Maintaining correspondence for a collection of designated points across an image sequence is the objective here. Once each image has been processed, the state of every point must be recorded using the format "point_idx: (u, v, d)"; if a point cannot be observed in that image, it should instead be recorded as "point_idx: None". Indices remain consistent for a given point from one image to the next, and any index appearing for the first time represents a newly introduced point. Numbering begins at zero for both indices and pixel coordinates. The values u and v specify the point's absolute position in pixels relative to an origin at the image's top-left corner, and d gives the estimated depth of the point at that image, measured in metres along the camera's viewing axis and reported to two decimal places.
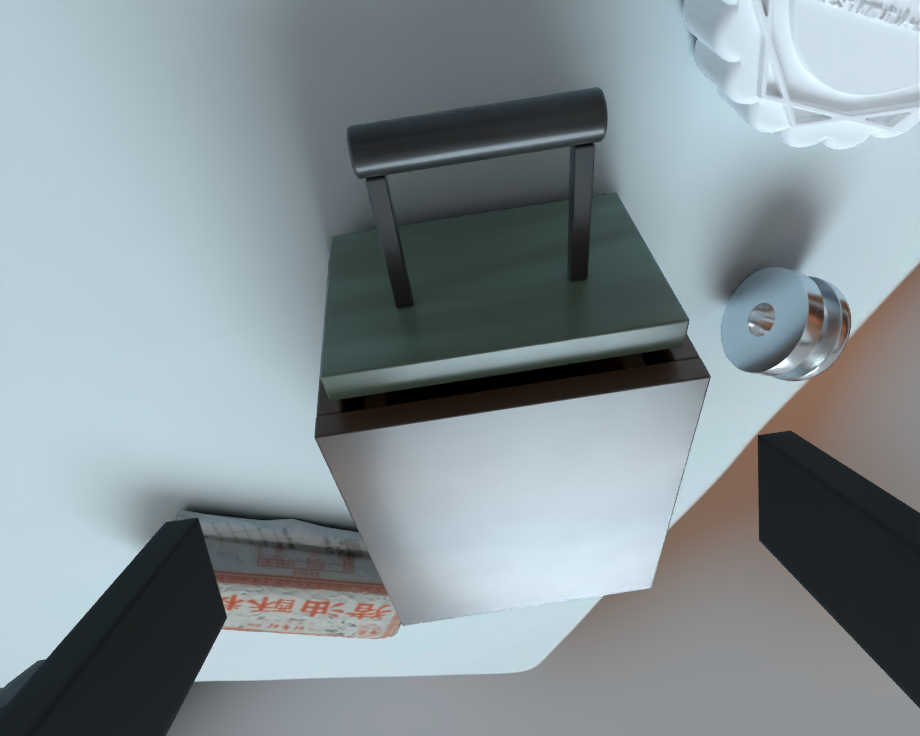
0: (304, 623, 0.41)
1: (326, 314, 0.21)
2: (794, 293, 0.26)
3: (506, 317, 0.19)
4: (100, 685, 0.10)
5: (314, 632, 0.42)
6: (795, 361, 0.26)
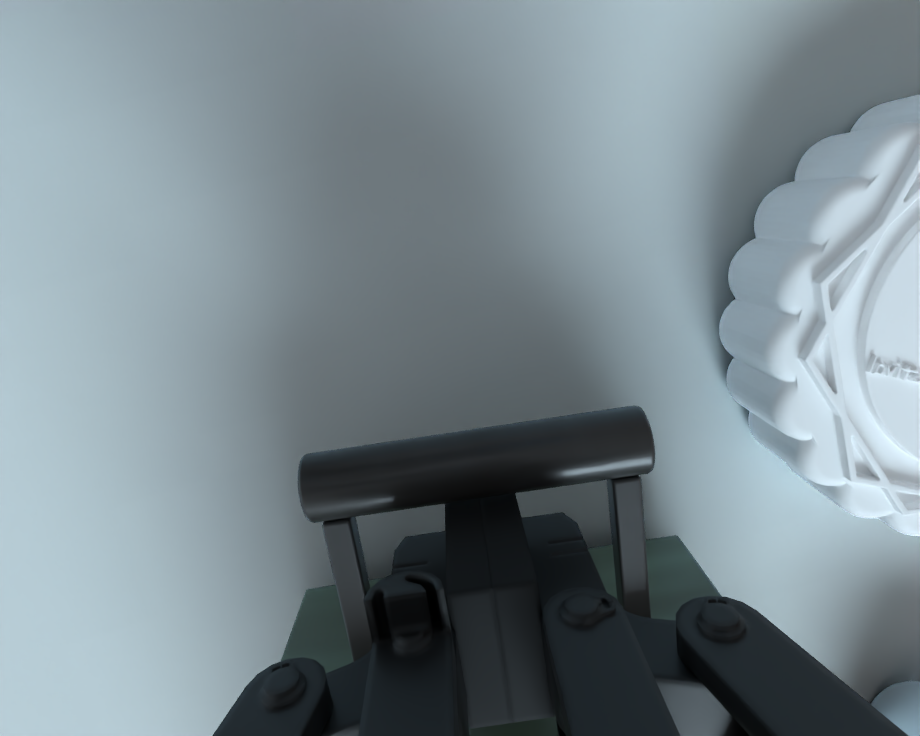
0: None
1: None
2: None
3: None
4: None
5: None
6: None
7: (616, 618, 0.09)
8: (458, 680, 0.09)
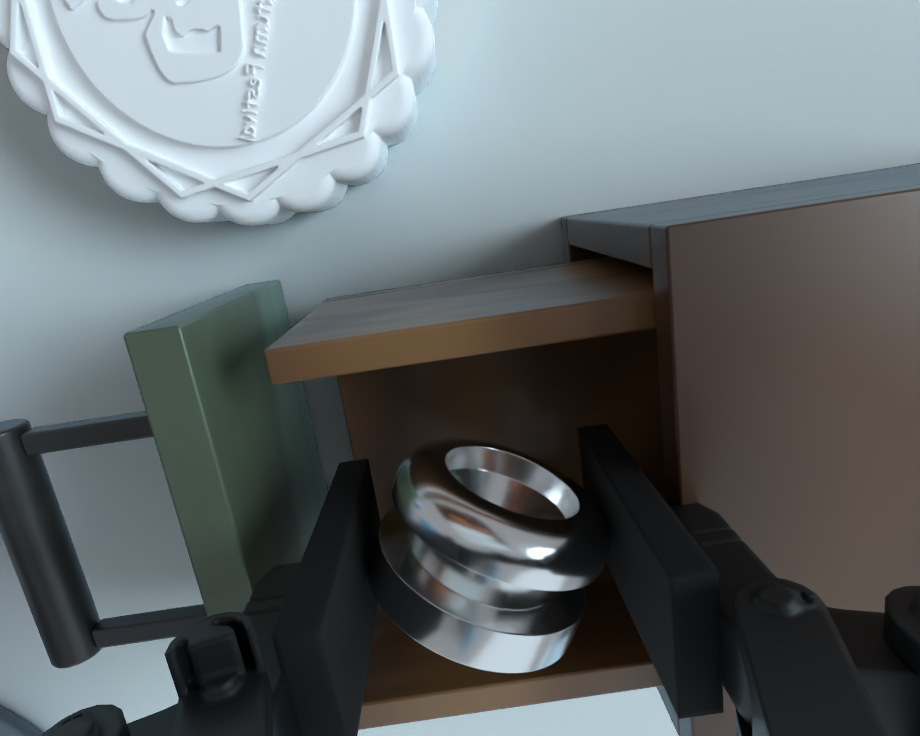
0: None
1: None
2: None
3: None
4: (346, 578, 0.11)
5: None
6: (491, 645, 0.11)
7: (818, 615, 0.08)
8: (277, 718, 0.09)
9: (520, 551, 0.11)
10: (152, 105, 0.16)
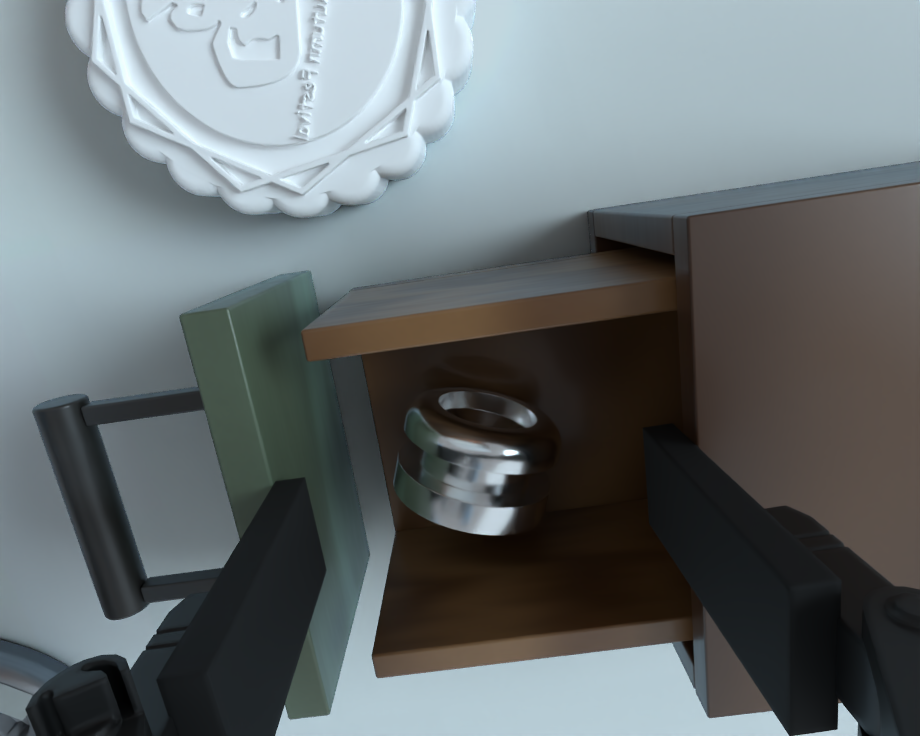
0: None
1: None
2: None
3: None
4: (258, 609, 0.11)
5: None
6: (478, 516, 0.17)
7: None
8: None
9: (488, 448, 0.17)
10: (216, 107, 0.17)
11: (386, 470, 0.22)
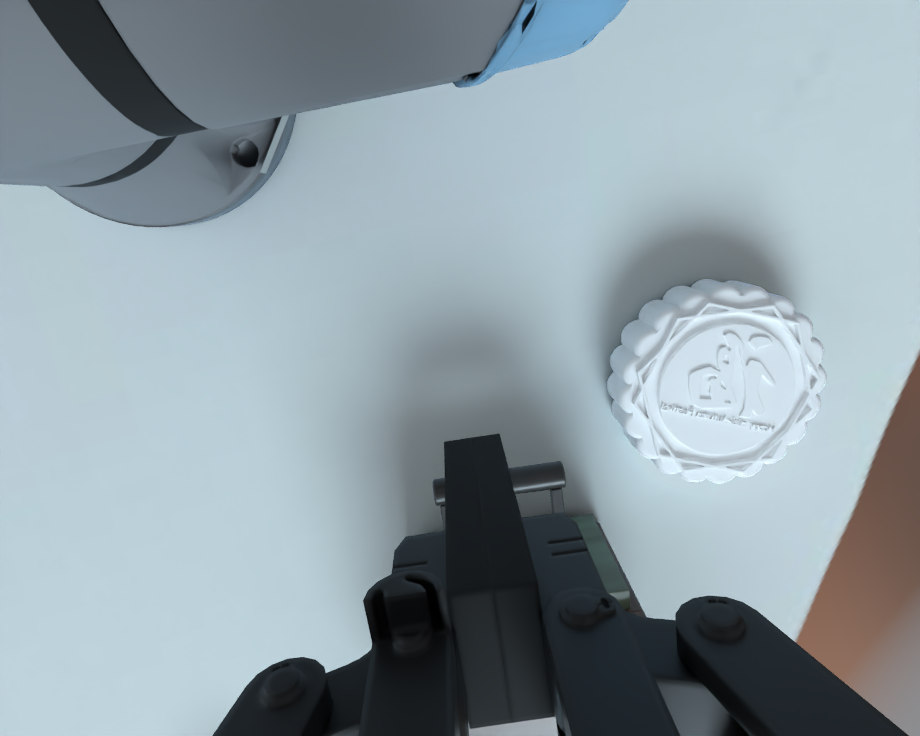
0: None
1: None
2: None
3: None
4: None
5: None
6: None
7: (616, 618, 0.09)
8: (458, 680, 0.09)
9: None
10: (680, 364, 0.33)
11: None
